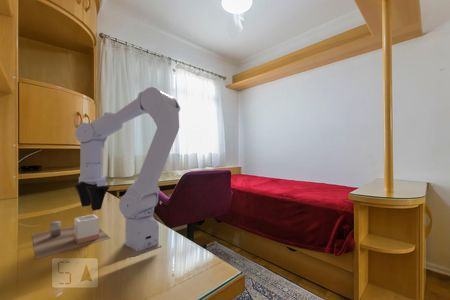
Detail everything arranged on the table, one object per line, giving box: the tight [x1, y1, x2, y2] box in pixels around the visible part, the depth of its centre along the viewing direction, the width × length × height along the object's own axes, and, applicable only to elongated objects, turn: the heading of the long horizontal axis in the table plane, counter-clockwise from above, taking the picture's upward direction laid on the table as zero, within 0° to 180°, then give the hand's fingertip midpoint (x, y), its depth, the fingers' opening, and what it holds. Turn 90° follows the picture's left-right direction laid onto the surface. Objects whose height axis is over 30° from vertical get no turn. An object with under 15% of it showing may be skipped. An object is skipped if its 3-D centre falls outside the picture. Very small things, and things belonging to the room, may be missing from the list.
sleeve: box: [73, 213, 100, 244], centre depth 59 cm, size 5×5×6 cm
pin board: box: [31, 220, 111, 260], centre depth 60 cm, size 20×16×5 cm
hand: (91, 207), depth 61 cm, fingers open, 7 cm apart
